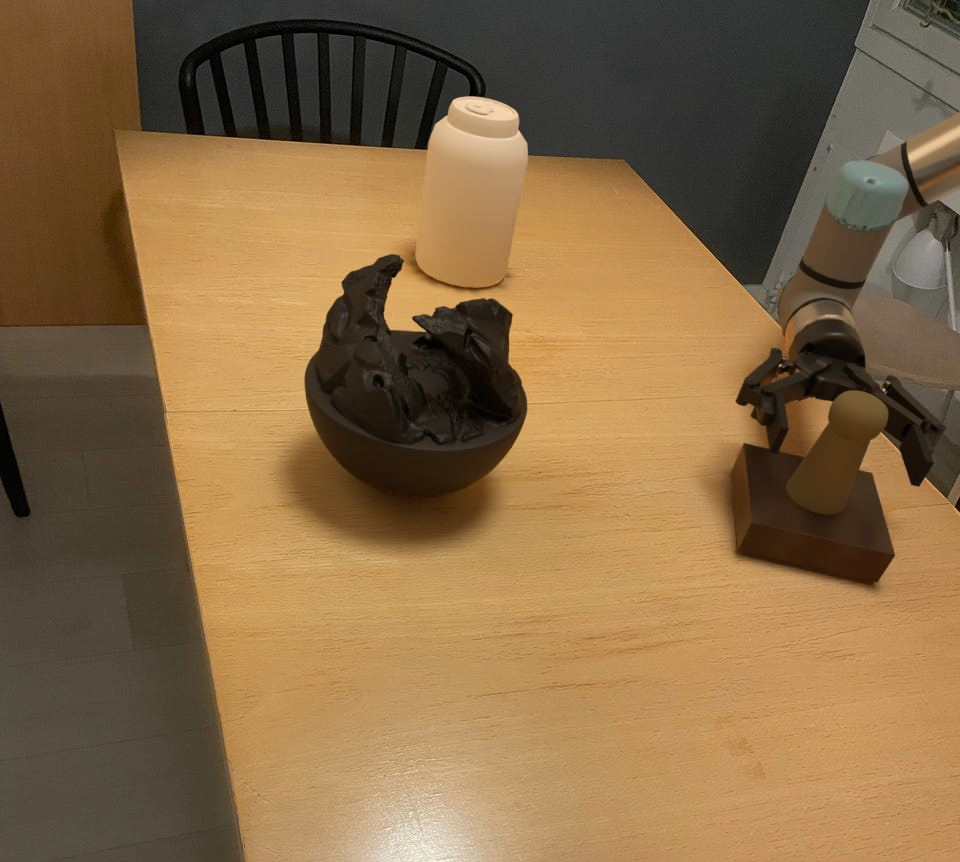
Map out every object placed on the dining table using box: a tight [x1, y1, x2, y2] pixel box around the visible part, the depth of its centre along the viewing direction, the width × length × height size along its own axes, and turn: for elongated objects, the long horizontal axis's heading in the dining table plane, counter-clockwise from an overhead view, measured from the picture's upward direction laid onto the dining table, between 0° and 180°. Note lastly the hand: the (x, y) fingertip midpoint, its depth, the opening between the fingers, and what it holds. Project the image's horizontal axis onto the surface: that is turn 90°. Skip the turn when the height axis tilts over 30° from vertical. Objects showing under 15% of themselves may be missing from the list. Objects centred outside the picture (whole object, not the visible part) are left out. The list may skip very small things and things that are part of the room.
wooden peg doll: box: [786, 391, 888, 515], centre depth 87 cm, size 6×6×11 cm
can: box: [414, 95, 529, 289], centre depth 116 cm, size 12×12×20 cm
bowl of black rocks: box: [303, 253, 528, 499], centre depth 81 cm, size 20×20×19 cm
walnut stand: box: [731, 442, 896, 586], centre depth 92 cm, size 14×14×4 cm
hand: (851, 457), depth 83 cm, fingers open, 13 cm apart
